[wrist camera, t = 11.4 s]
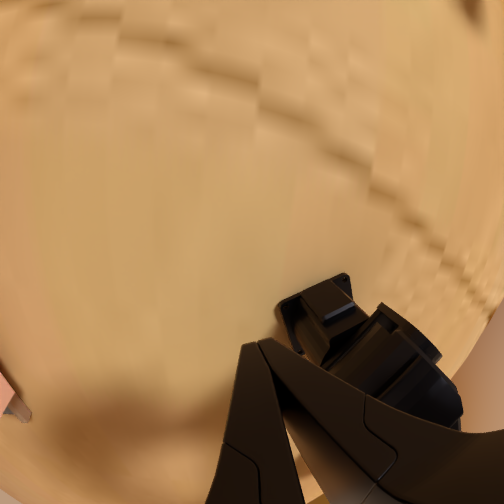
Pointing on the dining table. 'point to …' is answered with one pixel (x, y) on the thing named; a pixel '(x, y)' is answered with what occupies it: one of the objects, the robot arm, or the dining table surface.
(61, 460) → the dining table surface
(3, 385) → the terracotta block
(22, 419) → the mat
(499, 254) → the dining table surface
